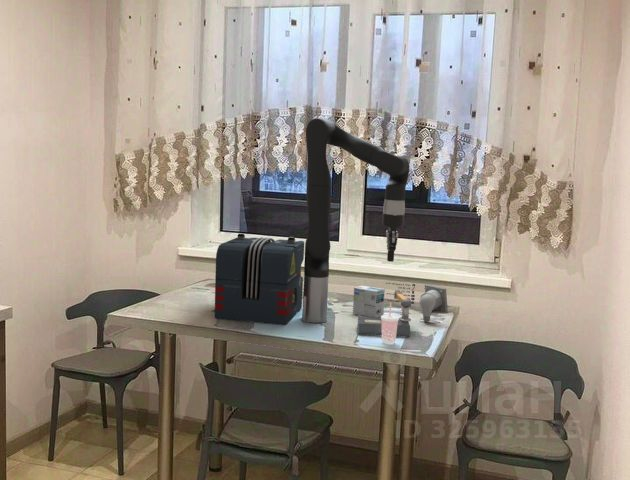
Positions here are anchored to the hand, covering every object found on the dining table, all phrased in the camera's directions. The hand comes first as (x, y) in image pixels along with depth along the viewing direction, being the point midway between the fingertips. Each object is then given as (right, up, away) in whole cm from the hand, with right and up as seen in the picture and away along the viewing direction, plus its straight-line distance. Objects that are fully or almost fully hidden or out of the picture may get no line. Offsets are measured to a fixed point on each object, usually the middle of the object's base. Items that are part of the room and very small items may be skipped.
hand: (390, 261), depth 240 cm
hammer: (+6, -16, +10) cm, 19 cm away
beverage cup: (-2, -28, -10) cm, 29 cm away
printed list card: (+16, -21, +43) cm, 51 cm away
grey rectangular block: (-2, -26, +3) cm, 26 cm away
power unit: (-48, -21, +23) cm, 57 cm away
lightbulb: (+16, -24, +20) cm, 35 cm away
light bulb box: (-6, -22, +28) cm, 37 cm away
